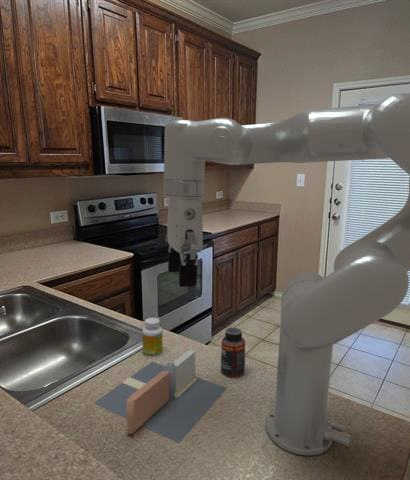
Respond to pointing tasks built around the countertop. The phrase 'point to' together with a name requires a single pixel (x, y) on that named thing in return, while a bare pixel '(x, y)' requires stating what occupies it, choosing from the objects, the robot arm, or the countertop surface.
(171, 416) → the board
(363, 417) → the countertop surface
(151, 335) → the supplement bottle
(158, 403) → the fence panel
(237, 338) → the supplement bottle
